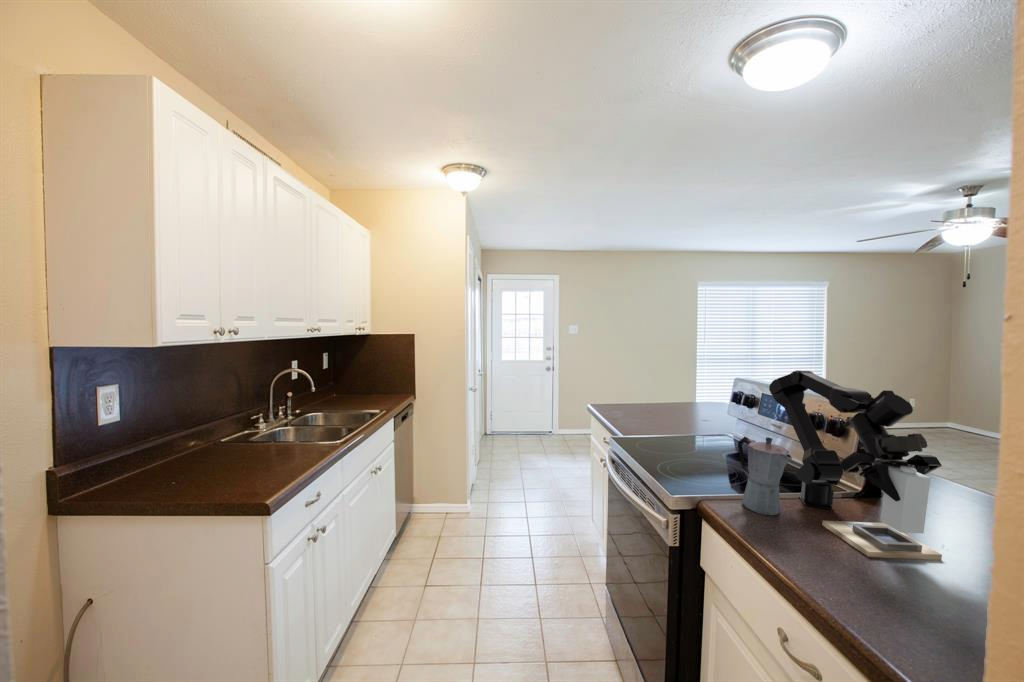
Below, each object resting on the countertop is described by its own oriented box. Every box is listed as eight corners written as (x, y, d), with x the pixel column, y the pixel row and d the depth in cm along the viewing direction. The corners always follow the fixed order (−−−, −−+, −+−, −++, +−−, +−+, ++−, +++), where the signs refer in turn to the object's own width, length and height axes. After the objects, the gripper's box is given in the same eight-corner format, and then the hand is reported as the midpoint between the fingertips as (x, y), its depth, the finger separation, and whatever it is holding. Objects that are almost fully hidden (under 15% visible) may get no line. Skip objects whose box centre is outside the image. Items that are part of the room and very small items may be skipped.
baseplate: (822, 525, 106) (823, 514, 106) (885, 527, 106) (886, 517, 106) (868, 556, 92) (869, 545, 92) (941, 560, 92) (942, 548, 92)
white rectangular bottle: (880, 520, 96) (887, 463, 95) (902, 521, 96) (909, 464, 95) (900, 532, 91) (907, 472, 90) (923, 533, 91) (931, 473, 90)
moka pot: (776, 523, 106) (782, 446, 105) (721, 499, 120) (726, 430, 119) (798, 516, 111) (804, 442, 109) (743, 493, 124) (747, 427, 123)
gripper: (856, 417, 95) (893, 485, 85) (938, 421, 95) (986, 489, 85) (827, 440, 104) (858, 504, 94) (903, 443, 104) (942, 507, 94)
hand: (910, 501), depth 92 cm, fingers closed on white rectangular bottle, 5 cm apart
